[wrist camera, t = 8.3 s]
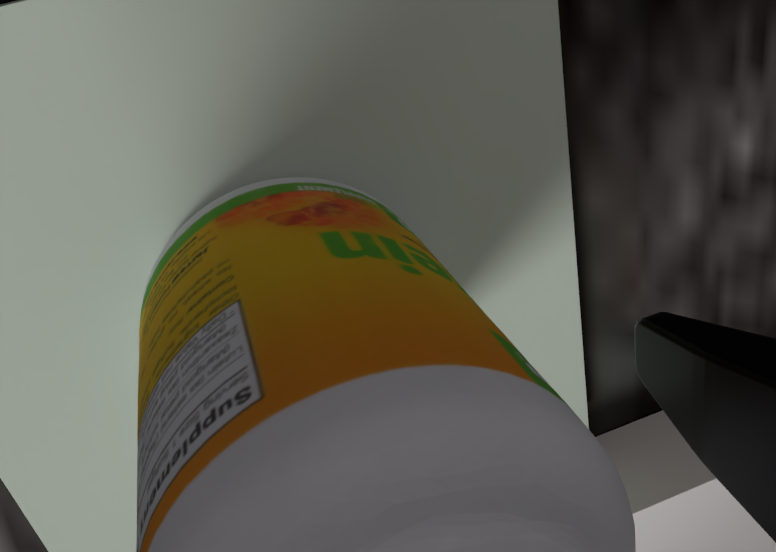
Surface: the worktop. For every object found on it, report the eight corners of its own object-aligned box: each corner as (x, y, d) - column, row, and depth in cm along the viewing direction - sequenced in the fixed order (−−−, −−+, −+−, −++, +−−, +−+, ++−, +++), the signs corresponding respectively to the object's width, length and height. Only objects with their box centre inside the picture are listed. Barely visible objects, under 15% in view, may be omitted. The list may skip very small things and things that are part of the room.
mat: (97, 601, 16) (95, 624, 15) (-245, 62, 10) (-266, 69, 9) (575, 414, 18) (588, 429, 17) (530, -122, 12) (548, -125, 11)
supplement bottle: (475, 257, 14) (961, 733, 6) (325, 458, 15) (550, 1110, 7) (243, 109, 11) (514, 584, 3) (80, 364, 12) (-44, 1238, 4)
